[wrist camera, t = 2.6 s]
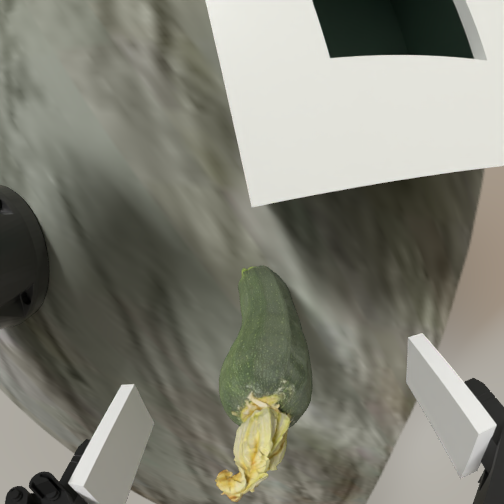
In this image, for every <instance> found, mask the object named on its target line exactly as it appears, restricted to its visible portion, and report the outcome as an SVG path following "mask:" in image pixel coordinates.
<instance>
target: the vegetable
mask: <svg viewBox="0 0 504 504" xmlns="http://www.w3.org/2000/svg"><path fill="white" fill-rule="evenodd" d="M238 290H239V294H240V305H241V313H242V327H241V329H240V332H239V334H238V337H237V339H236V340H235V342H234V343H233V345H232V347H231V349H230V351H229V353H228V355H227V357H226V358H225V361H224V363H223V366H222V369H221V373H220V378H219V393H220V399H221V402H222V405H223V407H224V410H225V411H226V413H227V414H228V416H229V417H230V419H231V420H232V421H233V422H235V423H236V424H237V425H239V426H240V427H239V428H238V430H237V433H236V439H235V444H234V449H233V450H234V455H235V459H234V461H236V463H235V464H236V465H237V466H238V468H239V473H238V474H236V475H234V476H232V475H233V474H232V472H229V471H228V469H227V470H223V471H222V472H220V473H219V474H218V476H217V479H216V480H215V481H216V482H217V483H216V485H217V486H218V487H219V488H220V490H222V491H223V493H221V495H223V494H226V495H227V496H228V497H229V499H230V500H231V501H234V502H238V501H239V500H240V499H241V497H242V496H243V494H245V493H247V492H248V491H251V492H254V491H255V490H254V488H255V487H258V485H259V483H260V482H261V481H263V480H265V479H266V478H267V477H268V474H267V473H266V472H267V471H268V470H272V471H273V470H277V468H276V467H277V465H278V464H279V463H280V462H281V460H282V459H283V457H284V454H285V451H286V446H287V440H286V438H287V433H288V428H290V427H291V426H293V425H294V424H295V423H296V422H297V421H298V420H299V418H300V417H301V416H302V415H303V414H304V412H305V411H306V409H307V408H308V406H309V403H310V401H311V394H312V371H311V364H310V358H309V352H308V347H307V343H306V340H305V337H304V335H303V332H302V328H301V324H300V320H299V317H298V315H297V312H296V310H295V307H294V304H293V301H292V298H291V295H290V292H289V290H288V288H287V286H286V284H285V283H284V282H283V280H282V279H281V278H280V277H279V276H278V275H277V274H276V273H275V272H273V271H272V270H271V269H269V268H268V267H266V266H259V267H250V268H248V269H247V270H246V269H245V268H243V269H242V278H241V280H240V281H239V285H238ZM231 476H232V477H231Z"/></svg>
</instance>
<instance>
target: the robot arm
mask: <svg viewBox="0 0 504 504" xmlns="http://www.w3.org/2000/svg"><path fill="white" fill-rule="evenodd" d="M48 279H49V265H48V255H47V250H46V245H45V241H44V238H43V235H42V232H41V229H40V227H39V224H38V222H37V220H36V218H35V216H34V214H33V212H32V211H31V209H30V208H29V206H28V205H27V204H26V202H25V201H24V200H23V199H22V198H21V197H20V196H19V195H18V194H17V193H16V192H14V191H13V190H11V189H10V188H8V187H5V186H2V185H0V329H2V328H7V327H11V326H15V325H18V324H20V323H22V322H23V321H25V320H26V319H27V318H29V317H30V316H31V315H32V314H34V313H35V312H36V311H37V310H38V309H39V307H40V306H41V304H42V302H43V300H44V298H45V295H46V292H47V287H48ZM406 383H407V385H408V386H409V388H410V390H411V391H412V393H413V395H414V396H415V398H416V400H417V401H418V403H419V405H420V406H421V408H422V410H423V412H424V413H425V415H426V417H427V418H428V420H429V422H430V424H431V426H432V427H433V429H434V431H435V433H436V434H437V436H438V438H439V440H440V442H441V443H442V445H443V447H444V449H445V451H446V453H447V454H448V456H449V458H450V460H451V462H452V464H453V466H454V468H455V469H456V471H457V473H458V475H459V477H460V478H463V477H465V476H467V475H469V474H471V473H473V472H475V471H477V470H478V468H479V466H480V463H482V464H483V466H484V468H485V470H484V472H483V474H482V476H481V478H480V480H479V481H478V483H480V484H479V487H478V490H477V493H476V496H475V499H474V502H473V504H504V407H503V406H502V405H501V403H500V402H499V401H498V400H497V398H495V396H494V395H493V394H492V393H491V392H490V390H489V389H488V388H487V387H486V386H485V384H483V383H482V382H480V381H479V380H476V379H475V378H472V379H470V380H468V381H465V382H463V381H462V379H461V378H460V377H459V376H458V375H457V373H456V372H455V371H454V370H453V368H452V367H451V366H450V365H449V364H448V362H447V361H446V360H445V359H444V358H443V357H442V355H441V354H440V353H439V352H438V351H437V349H436V348H435V347H434V346H433V345H432V344H431V342H430V341H429V340H428V339H427V338H426V337H425V335H424V334H423V333H421V334H417V335H414V336H411V337H408V356H407V376H406ZM153 426H154V421H153V420H152V418H151V416H150V414H149V412H148V410H147V408H146V406H145V404H144V402H143V400H142V398H141V396H140V394H139V392H138V390H137V388H136V386H135V384H128V385H121V387H120V389H119V390H118V392H117V394H116V396H115V397H114V399H113V401H112V403H111V404H110V406H109V408H108V410H107V412H106V413H105V415H104V417H103V419H102V421H101V422H100V424H99V426H98V428H97V430H96V431H95V433H94V435H93V437H92V439H91V440H88V439H86V440H85V441H84V442H83V443H82V444H81V445H80V446H79V447H78V449H77V450H76V452H75V454H74V455H75V456H73V458H72V460H71V462H70V463H69V465H68V467H67V469H66V470H65V472H64V474H63V476H62V478H61V480H60V481H58V480H57V479H56V478H55V477H54V476H53V475H52V474H51V473H49V472H40V473H38V474H36V475H35V476H34V477H33V478H32V479H31V481H30V483H29V488H30V489H31V490H32V491H33V492H34V493H29V492H28V491H27V490H26V489H25V488H24V487H22V486H17V487H13V488H12V489H11V490H10V491H9V492H8V493H7V496H6V501H5V504H125V503H126V501H127V498H128V495H129V492H130V489H131V486H132V484H133V481H134V478H135V475H136V472H137V470H138V467H139V464H140V461H141V459H142V456H143V453H144V450H145V448H146V445H147V442H148V440H149V437H150V434H151V431H152V429H153Z"/></svg>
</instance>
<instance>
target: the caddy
mask: <svg viewBox="0 0 504 504" xmlns="http://www.w3.org/2000/svg"><path fill="white" fill-rule="evenodd" d="M206 4H207V9H208V13H209V17H210V22H211V26H212V30H213V35H214V39H215V44H216V48H217V52H218V57H219V61H220V66H221V70H222V74H223V79H224V83H225V88H226V92H227V97H228V101H229V106H230V110H231V115H232V119H233V124H234V128H235V133H236V137H237V142H238V146H239V151H240V155H241V160H242V164H243V169H244V174H245V178H246V183H247V187H248V192H249V197H250V201H251V206H252V207H256V206H261V205H266V204H271V203H276V202H281V201H286V200H291V199H296V198H301V197H306V196H312V195H317V194H322V193H328V192H333V191H339V190H344V189H350V188H356V187H361V186H367V185H373V184H379V183H385V182H391V181H397V180H404V179H410V178H417V177H423V176H430V175H437V174H444V173H451V172H458V171H466V170H473V169H481V168H489V167H497V166H504V0H206Z"/></svg>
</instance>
